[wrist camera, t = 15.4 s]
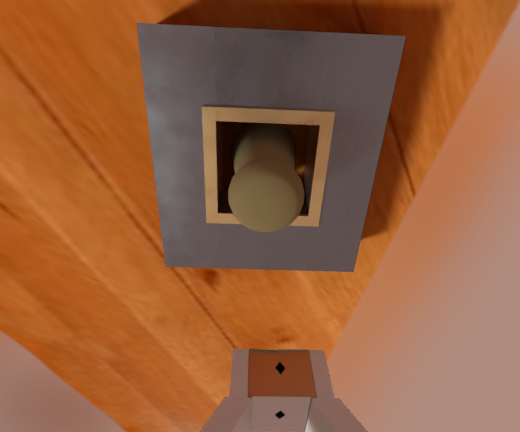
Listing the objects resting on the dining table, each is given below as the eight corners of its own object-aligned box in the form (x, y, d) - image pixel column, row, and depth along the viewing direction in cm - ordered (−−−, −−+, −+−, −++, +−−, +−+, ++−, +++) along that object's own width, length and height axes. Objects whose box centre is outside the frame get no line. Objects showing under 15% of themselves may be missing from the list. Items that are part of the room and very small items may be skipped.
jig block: (154, 24, 26) (135, 22, 22) (383, 35, 26) (408, 36, 22) (175, 240, 35) (164, 268, 31) (342, 245, 36) (354, 273, 32)
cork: (308, 139, 30) (332, 189, 21) (276, 193, 33) (284, 259, 23) (249, 107, 29) (245, 144, 19) (220, 166, 31) (204, 224, 22)
